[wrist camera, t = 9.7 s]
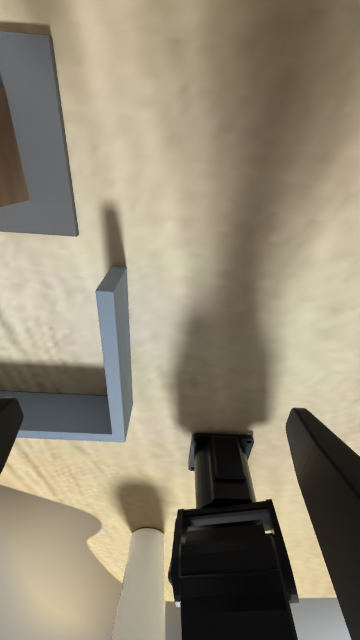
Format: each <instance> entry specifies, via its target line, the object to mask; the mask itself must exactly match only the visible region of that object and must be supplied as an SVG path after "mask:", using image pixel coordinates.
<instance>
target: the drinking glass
mask: <svg viewBox="0 0 360 640" xmlns="http://www.w3.org/2000/svg"><path fill="white" fill-rule="evenodd" d="M164 547H165V537H164V535H163V533H162V532H161V531H159V530H156V529H152V528H142V529H138V530H136V531H134V532H133V533H132V535H131V539H130V546H129V552H128V557H127V563H126V568H125V573H124V578H123V583H122V588H121V593H120V598H119V602H118V608H117V612H116V617H115V622H114V627H113V632H112V637H111V640H166V625H165V573H164Z"/></svg>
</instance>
